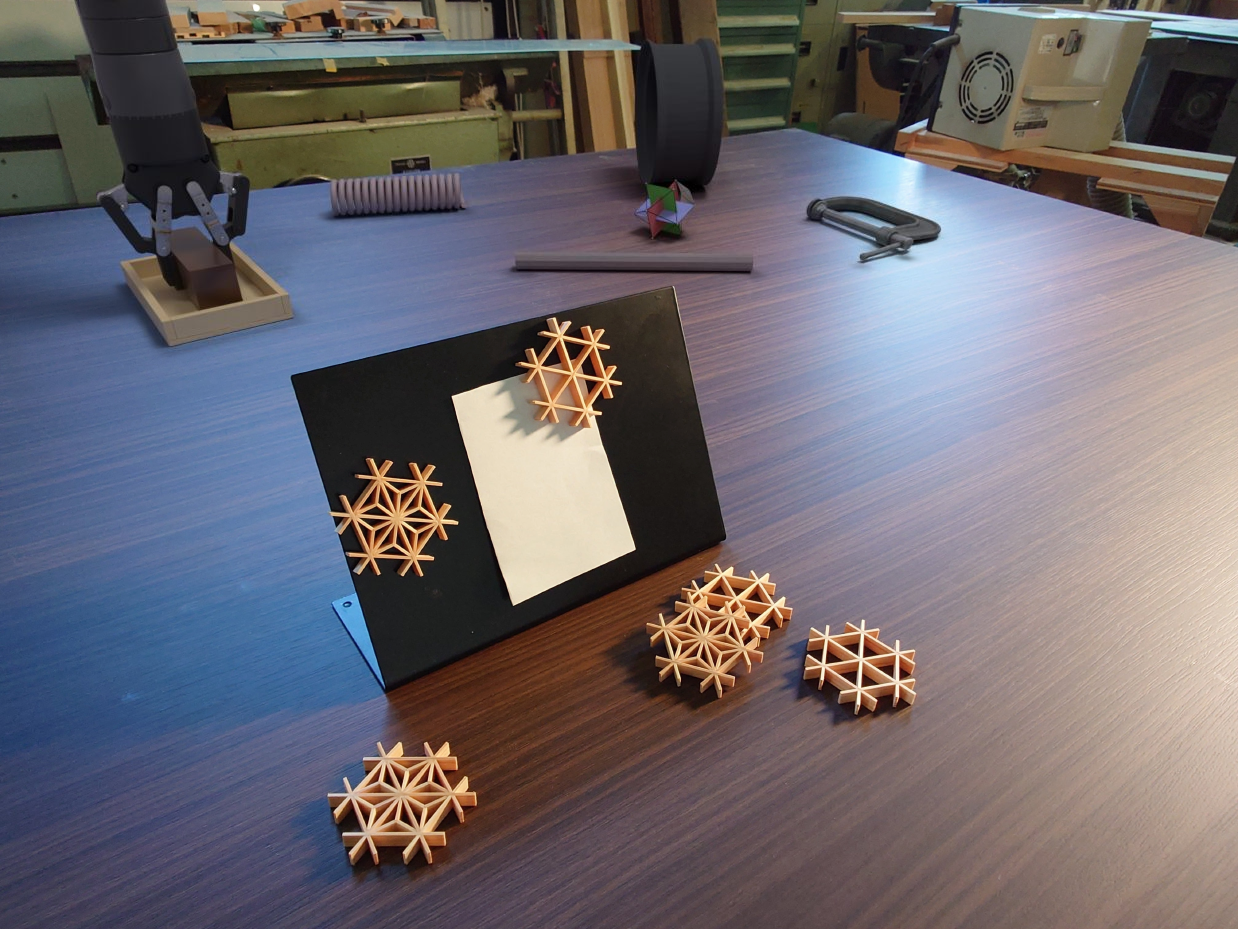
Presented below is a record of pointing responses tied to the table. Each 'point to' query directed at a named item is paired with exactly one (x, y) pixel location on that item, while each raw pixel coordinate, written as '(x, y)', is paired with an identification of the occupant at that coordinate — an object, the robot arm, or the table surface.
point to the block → (204, 269)
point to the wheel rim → (678, 111)
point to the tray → (190, 323)
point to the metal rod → (634, 261)
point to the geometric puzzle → (666, 207)
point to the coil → (396, 194)
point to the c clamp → (890, 237)
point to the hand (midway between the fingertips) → (202, 282)
